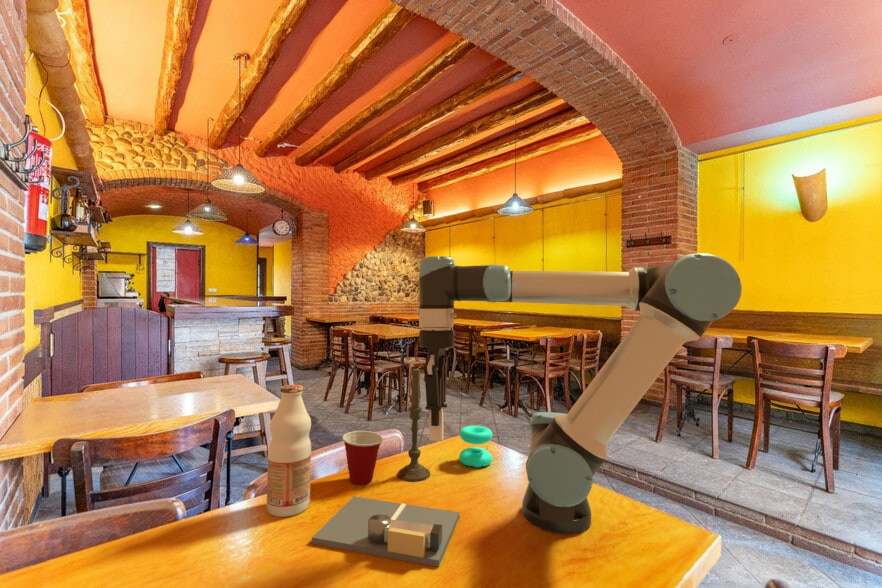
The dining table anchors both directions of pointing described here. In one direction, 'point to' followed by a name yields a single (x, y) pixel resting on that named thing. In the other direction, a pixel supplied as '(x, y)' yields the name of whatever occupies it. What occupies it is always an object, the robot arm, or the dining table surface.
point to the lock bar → (382, 523)
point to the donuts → (475, 454)
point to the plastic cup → (361, 455)
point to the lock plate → (402, 544)
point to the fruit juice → (289, 455)
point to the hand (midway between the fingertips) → (436, 439)
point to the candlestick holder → (414, 436)
